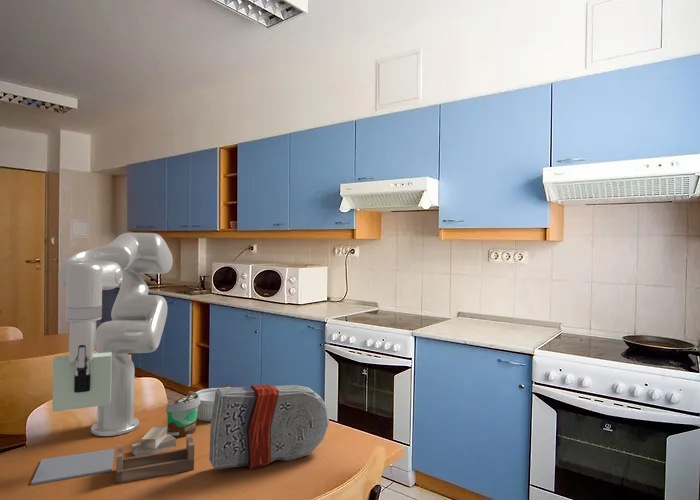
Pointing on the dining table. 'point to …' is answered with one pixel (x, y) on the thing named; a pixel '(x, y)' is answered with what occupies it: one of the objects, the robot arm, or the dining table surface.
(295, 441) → the decorative stone tablet
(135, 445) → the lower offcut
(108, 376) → the sheet
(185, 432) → the food container
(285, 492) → the dining table surface
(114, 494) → the dining table surface
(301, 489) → the dining table surface
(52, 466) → the mat
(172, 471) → the rack
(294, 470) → the dining table surface
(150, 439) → the upper offcut
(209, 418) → the ramekin
